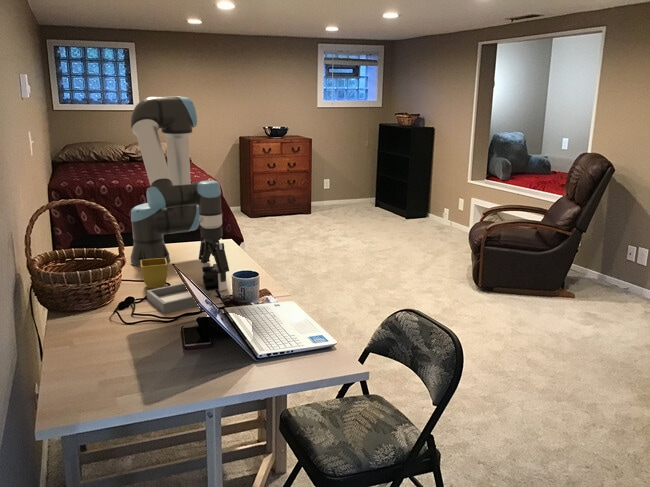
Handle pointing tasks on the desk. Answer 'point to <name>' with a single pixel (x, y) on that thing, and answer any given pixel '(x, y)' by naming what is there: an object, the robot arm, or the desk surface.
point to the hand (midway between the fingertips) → (214, 285)
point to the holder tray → (173, 297)
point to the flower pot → (154, 272)
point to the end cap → (210, 277)
